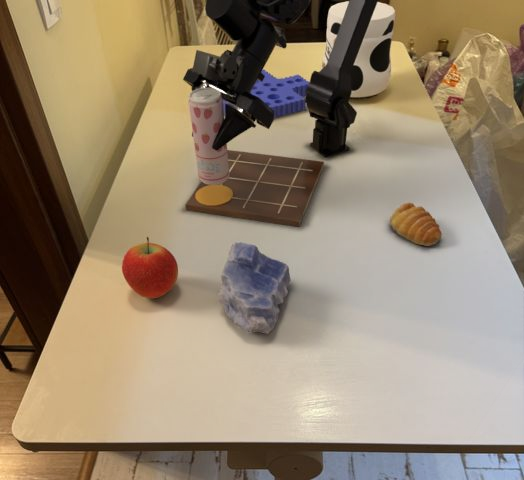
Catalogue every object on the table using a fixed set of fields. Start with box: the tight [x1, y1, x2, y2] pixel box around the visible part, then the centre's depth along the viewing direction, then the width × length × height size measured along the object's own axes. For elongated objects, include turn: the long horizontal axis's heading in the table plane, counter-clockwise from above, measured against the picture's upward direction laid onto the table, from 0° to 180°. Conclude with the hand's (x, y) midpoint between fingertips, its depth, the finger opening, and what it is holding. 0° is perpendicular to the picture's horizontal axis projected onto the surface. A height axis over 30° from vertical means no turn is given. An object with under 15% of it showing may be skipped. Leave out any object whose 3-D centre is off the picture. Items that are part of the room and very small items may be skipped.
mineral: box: [217, 241, 292, 334], centre depth 77 cm, size 14×10×10 cm
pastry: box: [389, 202, 443, 247], centre depth 90 cm, size 9×7×4 cm
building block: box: [223, 69, 310, 119], centre depth 130 cm, size 25×24×3 cm
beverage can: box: [188, 88, 229, 185], centre depth 90 cm, size 6×6×15 cm
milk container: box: [320, 0, 396, 101], centre depth 126 cm, size 17×17×18 cm
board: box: [184, 149, 325, 228], centre depth 102 cm, size 22×22×1 cm
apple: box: [121, 236, 179, 299], centre depth 79 cm, size 8×8×10 cm
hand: (203, 143), depth 90 cm, fingers closed on beverage can, 5 cm apart
